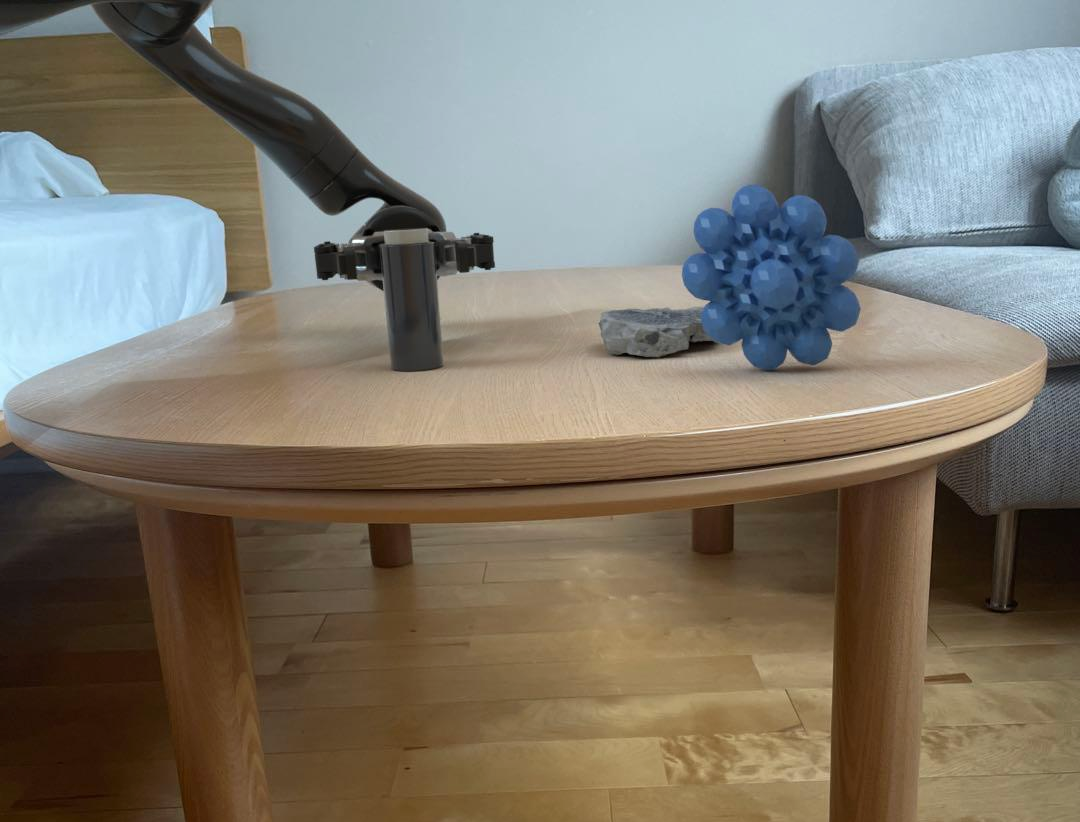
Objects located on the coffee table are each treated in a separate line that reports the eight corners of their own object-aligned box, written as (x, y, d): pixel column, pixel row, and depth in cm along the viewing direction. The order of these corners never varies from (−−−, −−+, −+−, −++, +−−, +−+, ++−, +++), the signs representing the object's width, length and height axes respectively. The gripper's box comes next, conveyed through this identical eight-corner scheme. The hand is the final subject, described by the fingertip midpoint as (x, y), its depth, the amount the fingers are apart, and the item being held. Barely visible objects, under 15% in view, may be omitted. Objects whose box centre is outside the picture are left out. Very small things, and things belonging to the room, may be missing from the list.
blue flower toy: (681, 384, 68) (680, 189, 64) (682, 366, 74) (681, 187, 70) (867, 380, 66) (878, 179, 62) (852, 361, 72) (861, 178, 68)
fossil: (684, 321, 74) (569, 289, 79) (671, 377, 76) (559, 342, 81) (749, 317, 84) (642, 288, 88) (736, 366, 85) (632, 336, 90)
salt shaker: (391, 372, 77) (378, 231, 74) (390, 364, 81) (377, 229, 78) (445, 368, 78) (435, 228, 74) (441, 360, 81) (431, 226, 78)
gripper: (316, 210, 92) (306, 214, 77) (477, 201, 94) (498, 204, 78) (326, 297, 94) (318, 318, 79) (483, 287, 96) (504, 306, 81)
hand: (408, 261), depth 79 cm, fingers open, 8 cm apart
